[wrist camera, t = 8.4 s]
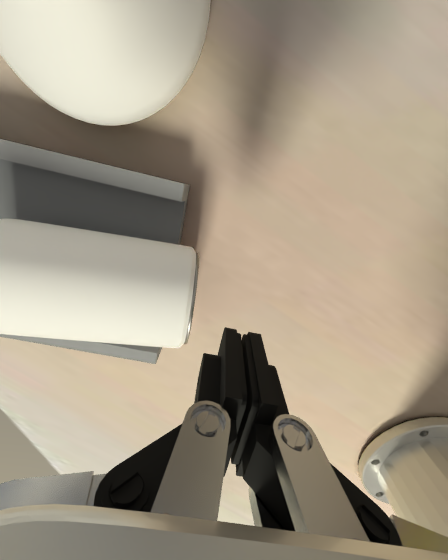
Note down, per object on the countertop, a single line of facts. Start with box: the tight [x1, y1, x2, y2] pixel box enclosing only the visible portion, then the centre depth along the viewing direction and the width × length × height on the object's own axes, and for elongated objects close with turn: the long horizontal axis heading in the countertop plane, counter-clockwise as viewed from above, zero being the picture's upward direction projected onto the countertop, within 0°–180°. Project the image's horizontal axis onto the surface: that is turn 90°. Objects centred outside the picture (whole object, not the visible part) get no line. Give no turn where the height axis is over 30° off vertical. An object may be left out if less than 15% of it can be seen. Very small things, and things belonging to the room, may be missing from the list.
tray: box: [0, 139, 190, 364], centre depth 16 cm, size 14×13×4 cm
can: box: [0, 219, 199, 348], centre depth 14 cm, size 6×6×12 cm
